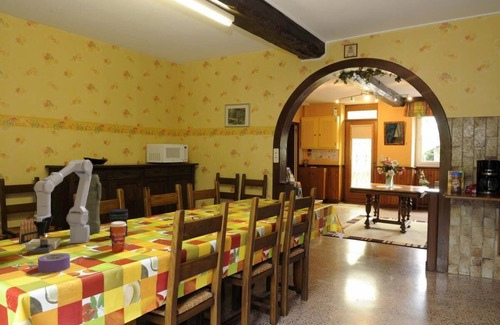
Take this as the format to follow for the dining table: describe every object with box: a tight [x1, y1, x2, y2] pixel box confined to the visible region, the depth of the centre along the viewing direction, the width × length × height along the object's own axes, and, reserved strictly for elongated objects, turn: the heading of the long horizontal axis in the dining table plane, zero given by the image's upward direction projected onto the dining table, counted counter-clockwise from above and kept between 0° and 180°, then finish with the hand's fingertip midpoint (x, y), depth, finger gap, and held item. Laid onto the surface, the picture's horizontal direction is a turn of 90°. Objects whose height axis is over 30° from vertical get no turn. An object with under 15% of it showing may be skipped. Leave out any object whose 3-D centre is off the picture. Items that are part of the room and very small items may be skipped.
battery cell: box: [40, 232, 49, 248], centre depth 173 cm, size 3×3×8 cm
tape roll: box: [37, 252, 71, 274], centre depth 150 cm, size 12×12×5 cm
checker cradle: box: [27, 245, 53, 255], centre depth 173 cm, size 9×6×2 cm, turn 105°
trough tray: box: [25, 237, 62, 251], centre depth 181 cm, size 13×10×3 cm
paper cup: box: [109, 221, 128, 253], centre depth 177 cm, size 8×8×14 cm
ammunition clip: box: [18, 217, 40, 245], centre depth 191 cm, size 11×2×12 cm, turn 158°
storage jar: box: [109, 208, 129, 238], centre depth 208 cm, size 10×10×15 cm
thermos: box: [85, 173, 102, 235], centre depth 214 cm, size 9×12×35 cm
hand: (43, 233), depth 173 cm, fingers open, 7 cm apart
